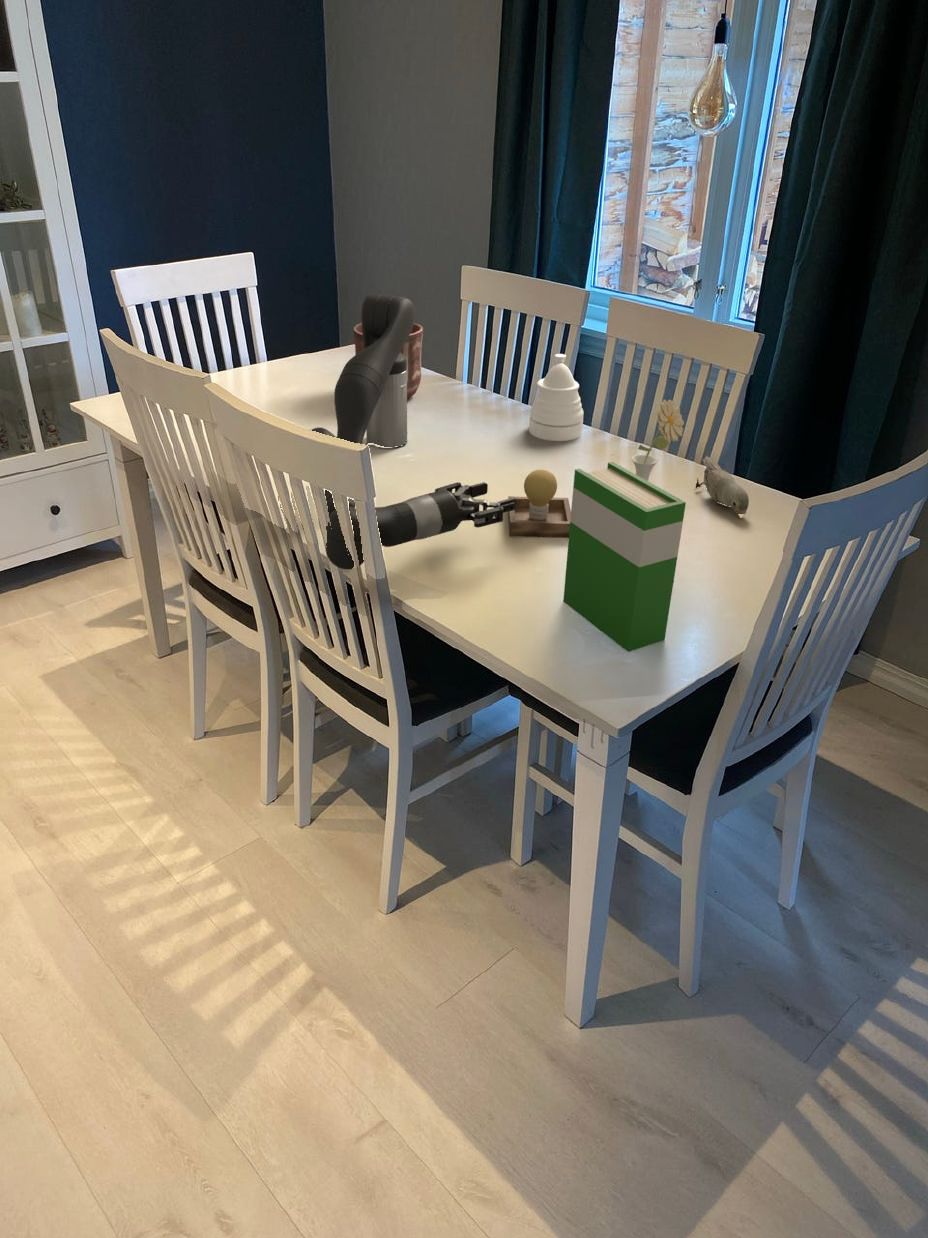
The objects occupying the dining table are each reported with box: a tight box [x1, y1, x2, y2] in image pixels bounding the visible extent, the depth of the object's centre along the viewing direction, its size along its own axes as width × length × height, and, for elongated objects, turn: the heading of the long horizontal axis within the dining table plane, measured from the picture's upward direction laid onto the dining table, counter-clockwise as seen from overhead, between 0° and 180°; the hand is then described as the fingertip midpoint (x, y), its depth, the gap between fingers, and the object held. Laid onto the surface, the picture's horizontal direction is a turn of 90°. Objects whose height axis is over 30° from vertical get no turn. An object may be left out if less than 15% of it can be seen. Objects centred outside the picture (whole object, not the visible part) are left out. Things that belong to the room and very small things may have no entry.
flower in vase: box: [631, 399, 685, 482], centre depth 185 cm, size 13×11×25 cm
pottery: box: [352, 322, 424, 401], centre depth 249 cm, size 18×18×18 cm
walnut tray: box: [507, 496, 571, 539], centre depth 189 cm, size 12×12×3 cm
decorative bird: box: [695, 456, 750, 515], centre depth 199 cm, size 5×16×8 cm, turn 19°
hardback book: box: [562, 461, 687, 653], centre depth 153 cm, size 18×7×24 cm, turn 30°
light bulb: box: [523, 469, 558, 521], centre depth 187 cm, size 6×6×10 cm
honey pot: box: [528, 353, 585, 442], centre depth 230 cm, size 13×13×18 cm
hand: (500, 495), depth 181 cm, fingers open, 8 cm apart
